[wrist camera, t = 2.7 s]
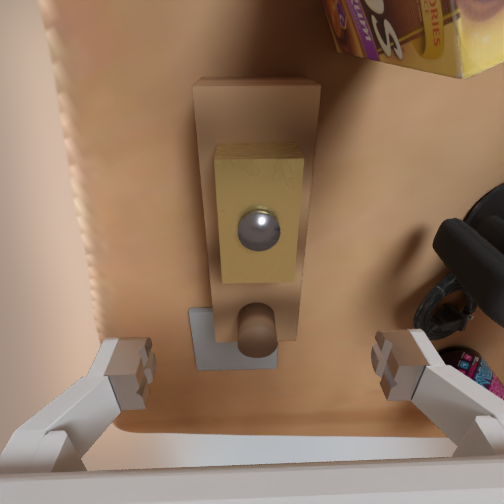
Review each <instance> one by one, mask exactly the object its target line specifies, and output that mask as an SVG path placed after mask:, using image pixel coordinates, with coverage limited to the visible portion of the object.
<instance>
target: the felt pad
mask: <svg viewBox="0 0 504 504" xmlns="http://www.w3.org/2000/svg"><path fill="white" fill-rule="evenodd" d="M189 318H190V325H191V332H192V338H193V345H194V352H195V359H196V366H197V371H209V370H250V369H276V365H277V348H276V350H275V351H274V352H273V353H272V354H271V355H269V356H266V357H263V358H251V357H247V356H245V355H243V354H242V353H241V352H240V351H239V349H238V345H237V343H238V342H216V339H215V328H214V318H213V308H189ZM277 342H278V341H277ZM277 347H278V346H277Z"/></svg>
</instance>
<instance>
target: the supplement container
mask: <svg viewBox="0 0 504 504" xmlns="http://www.w3.org/2000/svg"><path fill="white" fill-rule="evenodd" d="M438 354H439V355H440V357H441V358H442V360H443V362H444V363H445V365H451V366H452V367H454V368H455V369H457V370H458V371H460V372H461V373H463V374H464V375H466V376H467V377H469V378H470V379H472V380H473V381H475V382H476V383H478V384H480V385H481V386H483V387H484V388H486V389H487V390H489V391H490V392H492V393H493V394H495V395H496V396H498V397H499V398H501V399H502V400H504V385H503V384H502V382H501V381H500V380H499V378H498V377H497V376H496V374H495V373H494V372H493V370H492V369H491V368H490V366H489V365H488V364H487V362H486V361H485V360H484V359H483V357H482V356H481V355H480V353H478V352H477V351H475V350H474V349H471V348H469V347H464V346H453V347H448V348H445V349H442V350H440V351H438Z"/></svg>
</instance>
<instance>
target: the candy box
mask: <svg viewBox="0 0 504 504" xmlns="http://www.w3.org/2000/svg"><path fill="white" fill-rule="evenodd" d="M322 3H323V6H324V10H325V13H326V16H327V19H328V22H329V25H330V28H331V32H332V35H333V38H334V42H335V45H336V49H337V52H338V53H344V54H349V55H353V56H357V57H361V58H367V59H371V60H376V61H381V62H384V63H387V64H393V65H397V66H402V67H406V68H412V69H415V70H420V71H425V72H429V73H434V74H438V75H444V76H448V77H453V78H458V79H467V78H470V77H472V76H474V75H476V74H478V73H481V72H483V71H485V70H488V69H490V68H492V67H494V66H496V65H498V64H500V63H502V62H504V0H322Z"/></svg>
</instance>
